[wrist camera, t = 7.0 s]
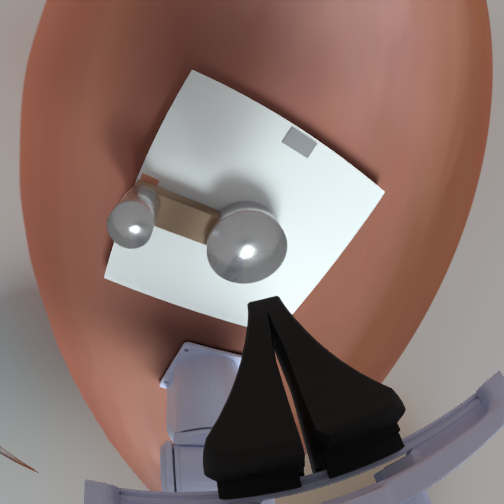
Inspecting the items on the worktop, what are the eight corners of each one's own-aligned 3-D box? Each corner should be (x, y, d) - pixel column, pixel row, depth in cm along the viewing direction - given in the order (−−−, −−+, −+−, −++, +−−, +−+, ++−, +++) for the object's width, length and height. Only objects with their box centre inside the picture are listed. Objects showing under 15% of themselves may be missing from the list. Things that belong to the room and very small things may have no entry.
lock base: (272, 325, 26) (274, 335, 25) (107, 268, 20) (103, 278, 19) (377, 186, 20) (385, 192, 19) (193, 71, 14) (192, 69, 13)
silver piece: (292, 218, 18) (314, 251, 15) (258, 274, 20) (269, 314, 17) (141, 154, 14) (121, 173, 11) (117, 224, 16) (98, 259, 13)
